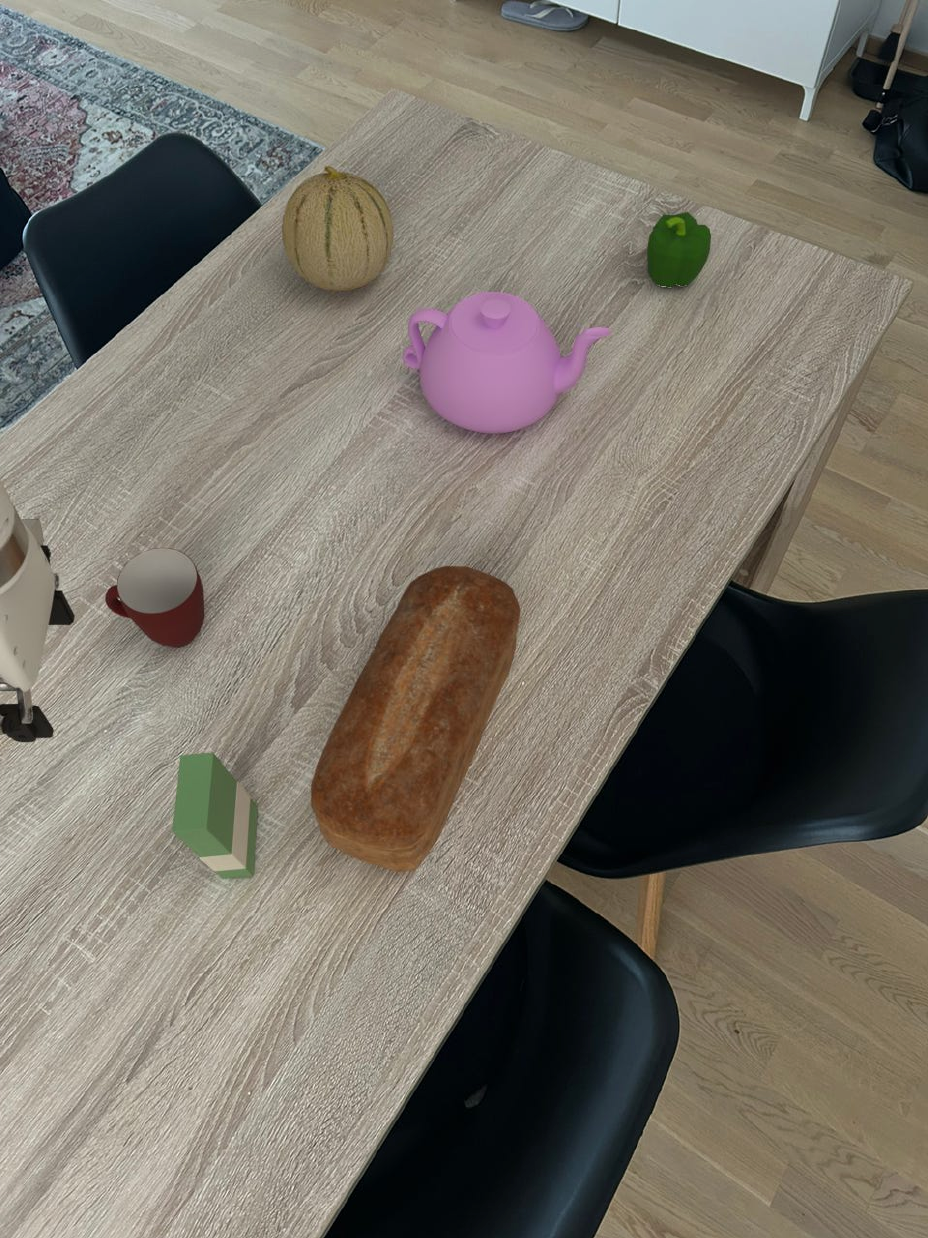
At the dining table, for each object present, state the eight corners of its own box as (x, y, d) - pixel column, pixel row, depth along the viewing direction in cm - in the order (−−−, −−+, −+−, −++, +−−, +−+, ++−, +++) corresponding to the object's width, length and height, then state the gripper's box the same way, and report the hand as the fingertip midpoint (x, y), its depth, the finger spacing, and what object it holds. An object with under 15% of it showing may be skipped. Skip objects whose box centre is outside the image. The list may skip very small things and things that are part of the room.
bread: (301, 850, 100) (283, 796, 88) (425, 599, 115) (423, 525, 103) (418, 896, 97) (415, 848, 86) (529, 635, 113) (539, 564, 101)
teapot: (384, 425, 128) (379, 341, 116) (420, 327, 137) (419, 240, 126) (584, 463, 126) (599, 382, 114) (607, 361, 135) (623, 275, 123)
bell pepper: (692, 254, 146) (707, 192, 137) (707, 294, 142) (724, 232, 133) (633, 258, 145) (645, 196, 137) (647, 299, 141) (660, 237, 132)
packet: (171, 833, 87) (207, 829, 87) (179, 754, 91) (213, 751, 90) (222, 880, 98) (254, 877, 98) (227, 808, 102) (258, 805, 101)
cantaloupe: (321, 329, 137) (309, 233, 124) (269, 265, 143) (252, 168, 130) (417, 288, 141) (414, 191, 128) (362, 228, 148) (355, 130, 135)
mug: (111, 664, 110) (83, 614, 101) (124, 600, 114) (98, 546, 106) (211, 664, 110) (192, 614, 102) (220, 600, 114) (203, 547, 106)
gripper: (-70, 436, 68) (14, 581, 83) (-139, 667, 59) (-32, 784, 74) (47, 437, 69) (110, 580, 83) (-4, 665, 60) (76, 782, 74)
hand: (43, 676), depth 79 cm, fingers open, 9 cm apart
